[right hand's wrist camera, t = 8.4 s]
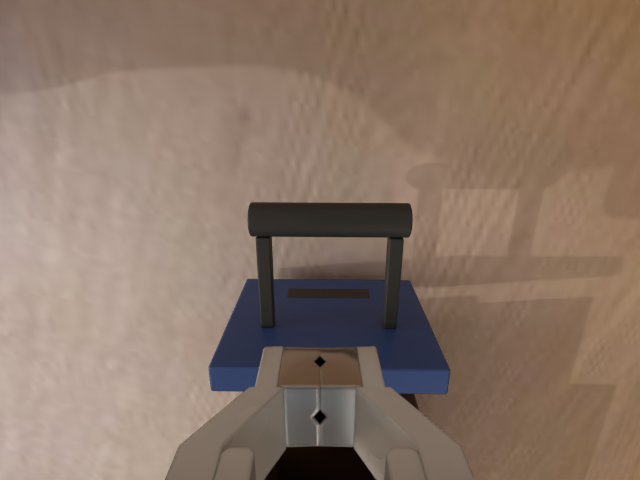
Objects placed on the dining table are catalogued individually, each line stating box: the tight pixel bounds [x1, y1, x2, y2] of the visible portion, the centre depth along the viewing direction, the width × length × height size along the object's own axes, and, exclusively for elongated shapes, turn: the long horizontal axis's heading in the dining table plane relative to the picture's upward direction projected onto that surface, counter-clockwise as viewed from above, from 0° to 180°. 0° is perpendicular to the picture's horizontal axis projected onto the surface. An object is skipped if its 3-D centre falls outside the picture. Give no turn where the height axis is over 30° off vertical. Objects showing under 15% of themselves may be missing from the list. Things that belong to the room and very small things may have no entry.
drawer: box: [209, 202, 450, 480], centre depth 21 cm, size 22×10×8 cm, turn 0°
